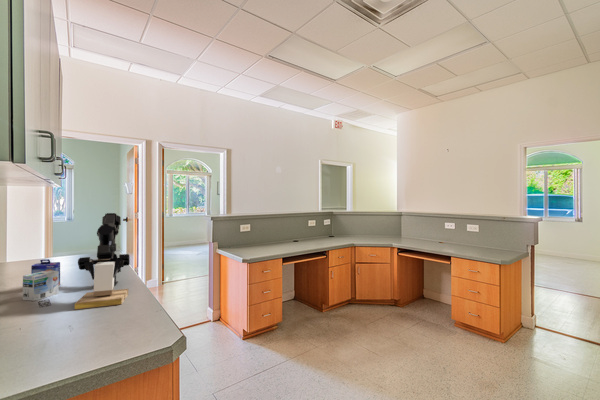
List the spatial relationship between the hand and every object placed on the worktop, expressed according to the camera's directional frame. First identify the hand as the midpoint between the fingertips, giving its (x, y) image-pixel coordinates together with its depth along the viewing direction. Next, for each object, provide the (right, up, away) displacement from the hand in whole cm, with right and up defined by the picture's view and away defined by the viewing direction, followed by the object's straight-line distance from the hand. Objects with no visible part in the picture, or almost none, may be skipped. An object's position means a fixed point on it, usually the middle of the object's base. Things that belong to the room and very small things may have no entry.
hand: (103, 278), depth 121 cm
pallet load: (-1, -7, +1) cm, 7 cm away
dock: (-1, -10, +1) cm, 10 cm away
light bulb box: (-33, -10, +7) cm, 35 cm away
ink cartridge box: (-42, -10, +19) cm, 48 cm away
